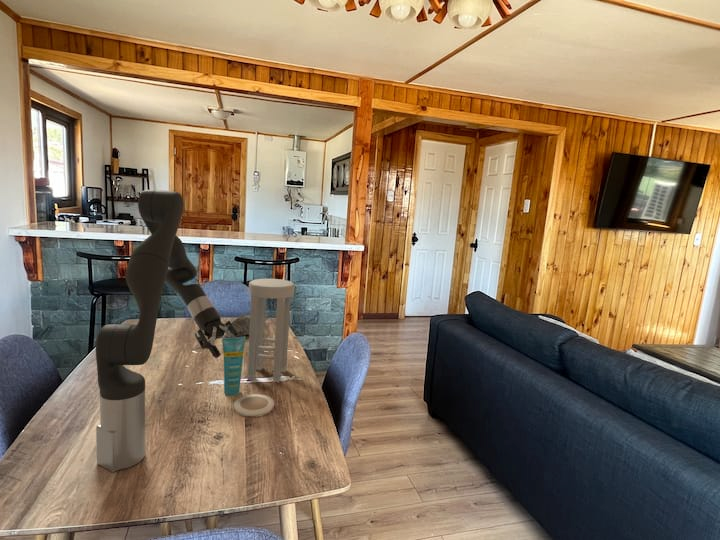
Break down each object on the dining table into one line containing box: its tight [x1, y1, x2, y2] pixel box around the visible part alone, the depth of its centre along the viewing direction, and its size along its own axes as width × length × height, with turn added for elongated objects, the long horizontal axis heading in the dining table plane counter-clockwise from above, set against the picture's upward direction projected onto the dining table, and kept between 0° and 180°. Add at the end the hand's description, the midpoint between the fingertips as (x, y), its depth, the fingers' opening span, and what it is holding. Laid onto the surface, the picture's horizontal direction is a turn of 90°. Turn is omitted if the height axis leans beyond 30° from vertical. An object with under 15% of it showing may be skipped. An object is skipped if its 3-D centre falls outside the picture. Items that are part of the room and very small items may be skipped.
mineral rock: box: [224, 313, 250, 337], centre depth 192 cm, size 13×11×10 cm
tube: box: [221, 335, 247, 397], centre depth 135 cm, size 7×5×19 cm, turn 123°
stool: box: [247, 278, 296, 384], centre depth 149 cm, size 16×16×35 cm
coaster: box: [233, 393, 275, 417], centre depth 128 cm, size 12×12×1 cm
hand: (228, 353), depth 135 cm, fingers open, 8 cm apart
